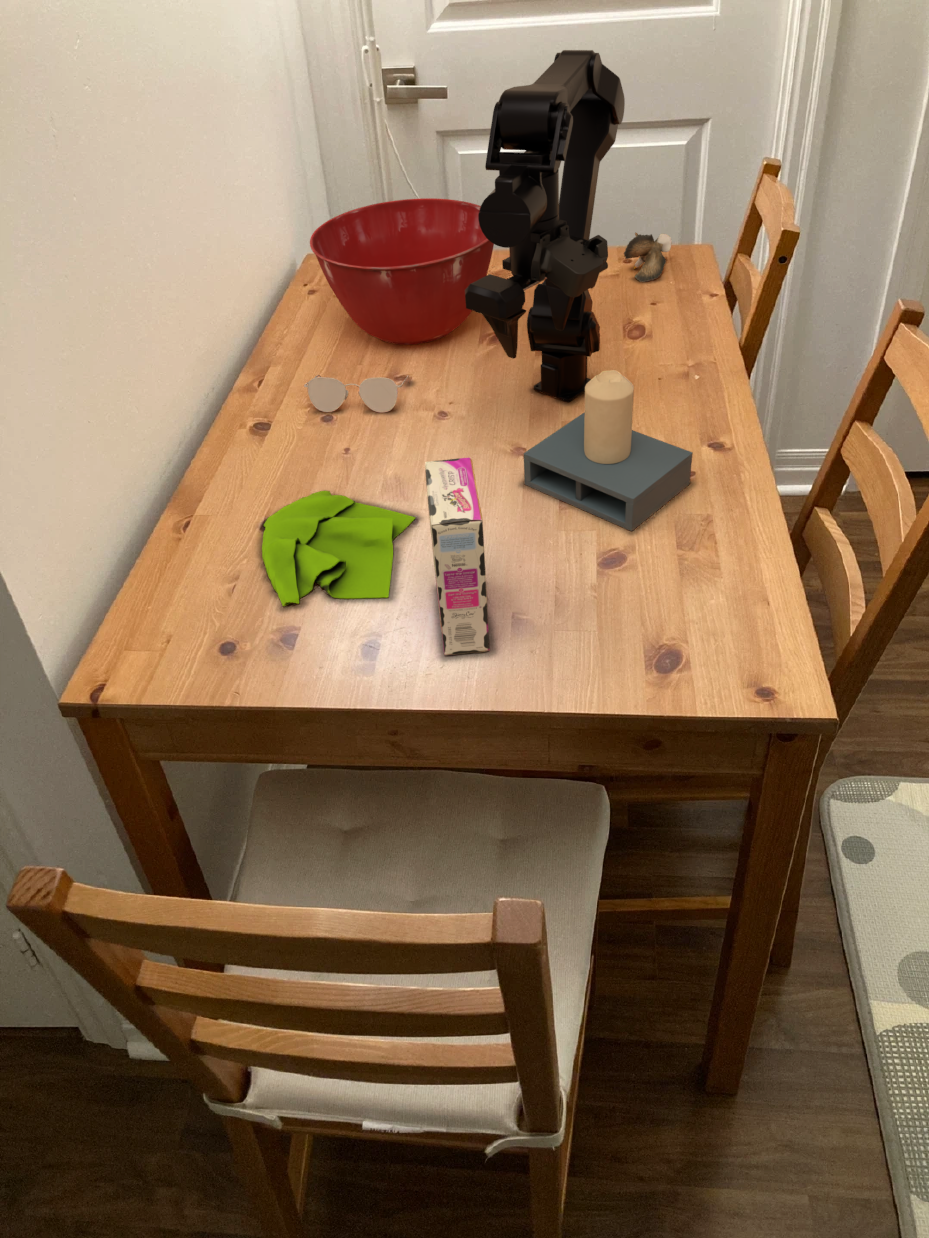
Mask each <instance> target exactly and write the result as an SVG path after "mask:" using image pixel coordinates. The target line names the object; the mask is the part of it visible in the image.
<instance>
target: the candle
mask: <svg viewBox="0 0 929 1238" xmlns="http://www.w3.org/2000/svg"><path fill="white" fill-rule="evenodd" d="M590 379H591V380H590V381H589V382H588V383H587V384H586V386H585V392H584V412H585V418H584V452H585V455H586V457H587V458H588V459H590V460H591V461H594V462H596V463H601V464H614V463H618V462H621V461H623V460H625V459H626V458H628V456H629V455H630V451H631V437H632V430H633V417H634V416H633V415H634V413H633V412H634V396H635V386H634V383H632V381H631V380H630V379H628V378H627V377H626V376H625V375H623V373H622V372H620V371H618V370H616V369H609V370H608V369H607V370H603V371H601V372H600V373H599V374H596V375H595V376H593V378H590Z"/></svg>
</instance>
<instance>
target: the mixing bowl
mask: <svg viewBox="0 0 929 1238" xmlns="http://www.w3.org/2000/svg"><path fill="white" fill-rule="evenodd" d="M480 207H481V205H479V204H475V203H473V202H468V201H464V200H459V199H458V200H457V199H449V198H431V197H430V198H429V197H428V198H423V197H422V198H406V199H397V200H390V201H384V202H383V201H382V202H378V203H372V204H368V205H365V206H361V207H358V208H355V209H352V210H348V211H345V212H344V213H341V214H338V215H336V216H334V217H332V218H330V219H328V220H327V221H325V222H323V224H321V225H319V226H318V227H317V228H316V229H315V230H314V231H313V233H312V234H311V236H310V238H309V247H310V249H311V251H312V253H313V254H314V255H315V257H316V259H317V261H318V264H319V267H320V269H321V271H322V273H323V276H324V278H325V280H326V282H327V283H328V285H329V287H330V289H331V290H332V293H333V294H334V296H335V297H336V299H337V300H338V303H339V304H340V305H341V307H342V308H343V309H344V310H345V312H346V314H347V315H348V316H349V317H350V319H351V320H352V321H353V323H355V325H356V326H357V327H358V328H359V329H361V330H362V331H363V332H365V333H366V334H368V335H370V336H372V337H374V338H377V339H379V340H381V341H382V342H385V343H388V344H393V345H400V346H409V345H410V346H412V345H421V344H426V343H430V342H434V341H437V340H440V339H442V338H445V337H447V336H448V335H450V334H451V333H452V332H454V330H455V329H457V328H458V327H460V326H461V325H462V324H463V323H464V322H466V321H467V319H468V317H470V315H471V313H472V312H473V310H470V309H467V308H466V302H465V289H466V288H467V287H468V286H469V285H470V284H471V283H473V282H475V281H477V280H479V279H481V278H483V277H485V276H487V275H488V273H489V268H490V266H491V262H492V261H491V260H492V256H493V251H494V247H495V244H493V243H492V242H490V241H489V240H488V239H487V238H486V237H485V235H484V234H483V232H482V230H481V228H480V225H479V220H478V214H479V211H480Z"/></svg>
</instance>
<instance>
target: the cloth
mask: <svg viewBox="0 0 929 1238" xmlns="http://www.w3.org/2000/svg"><path fill="white" fill-rule="evenodd" d="M415 520H416V516H412V515H409V514H405V513H401V512H397V511H394V510H390V509H386V508H382V507H378V506H375V505H368V504H365V503H362V502H356V501H355V500H353V499H351V498H350V497H348V496H346V495H342V494H332V493H331V492H330V490H321V491H316V492H313V493H311V494H309V495H306V496H302V497H300V498H298V499H297V500H295V501H293V502H291V503H289V504H287V505H285V506H283V507H281V508H280V509H279V510H277V511H275V512H274V513H273V514H271V515H269V516H267V518H266V519H265V521H264V523H263V524H262V526H263V527H264V530H263V533H262V534H263V535H262V544H261V555H262V556H261V558H262V562H263V565H264V567H265V572H266V575H267V578H269V581H270V584H271V586H272V589H273V590H274V592H275V593H276V594H277V597H278V598H279V601H280V603H281V606H282V607H287V606H288V605H291V604H297V605H299V604H300V599H302V598H304V597H305V596H307V595H308V594H310V593H311V592H312V591H313V590H314V583H315V584H317V585H319V586H320V589H323V590H325V592H326V594H328V595H329V596H330V597H332V598H334V599H342V600H343V599H344V600H345V599H347V600H348V599H349V600H350V599H351V600H353V599H354V600H355V599H356V600H357V599H361V600H362V599H388V598H389V597H390V596H389V595H390V589H391V579H392V573H393V561H394V544H393V542H394V540H395V539H396V538H397V537H398V536H399V535H400V534H402V533H403V532H405V530H407V528H408V527H409V526H410V525H411V524H412V523H413V522H414V521H415Z"/></svg>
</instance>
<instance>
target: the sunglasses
mask: <svg viewBox="0 0 929 1238" xmlns="http://www.w3.org/2000/svg"><path fill="white" fill-rule="evenodd" d="M407 379H408V380H407ZM406 381H408V384H410V382H411V380H410V375H409V374H408V375H406V377H405V378H404V380H403V381H402V383H401V384H397V383H396V382H395V381H394V380H393V379H391V378H389V377H383V376H381V377H380V376H379V377H368V378H365V379H363V380H362V381H361V383H360V384H356V383H347V384H344V383H343V382H342V381H341V380H340V379H337V378H334V377H327V376H326V377H325V376H321V375H320V374H317V375H315V376H314V377H313V378H311V379H310V380H309V381H307V382H306V383H304V384H303V387H304V388H307V394H308V397H309V400H310V403H311V404H312V405H313V406H314V408H316V410H317V411H320V412H323V413H331V412H332V413H333V412H335V411H337V410H338V409H339V408H340V407H341V406H342V404H343V403H344V402H345V401H346V400H347V398H348V397H349V393H350V392H349V390H348V389H347V388H346V387H348V386H356V387H358V396H359V397H360V398H361V400H362V401H363V403H364V405H365V406H366V407H368V408H369V409H370V410H371V411H373V412H376V413H379V414H380V413H381V414H382V413H387V412H390V411H391V410H393V409H394V407H395V406H396V404H397V401H398V397H399V396H398V393H399V391H398V388H402V387H403V385H404V384H405V382H406Z"/></svg>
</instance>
